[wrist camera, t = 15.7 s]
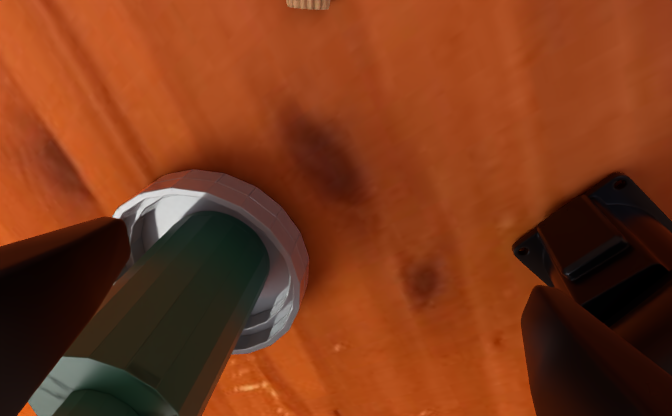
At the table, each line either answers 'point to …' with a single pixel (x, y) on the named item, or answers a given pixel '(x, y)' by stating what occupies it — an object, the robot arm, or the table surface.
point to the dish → (251, 208)
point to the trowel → (309, 4)
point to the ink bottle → (163, 326)
